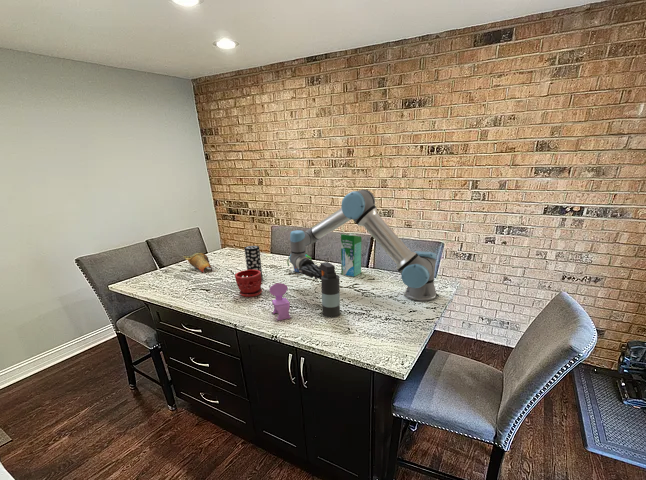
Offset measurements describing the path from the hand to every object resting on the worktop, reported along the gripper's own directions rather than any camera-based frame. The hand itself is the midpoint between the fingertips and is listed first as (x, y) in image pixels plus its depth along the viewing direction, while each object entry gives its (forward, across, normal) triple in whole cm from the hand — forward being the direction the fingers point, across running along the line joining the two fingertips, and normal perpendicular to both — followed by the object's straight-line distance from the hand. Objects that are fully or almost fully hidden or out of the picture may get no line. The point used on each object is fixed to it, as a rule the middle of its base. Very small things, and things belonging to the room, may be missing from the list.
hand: (324, 278), depth 154 cm
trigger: (+1, 0, -3) cm, 3 cm away
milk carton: (-40, -37, -16) cm, 57 cm away
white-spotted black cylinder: (-57, +19, -16) cm, 62 cm away
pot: (-98, +45, -16) cm, 109 cm away
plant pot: (-36, +27, -16) cm, 48 cm away
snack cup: (-61, -11, -16) cm, 65 cm away
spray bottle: (+5, 0, -15) cm, 16 cm away
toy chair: (-3, +21, -16) cm, 26 cm away
